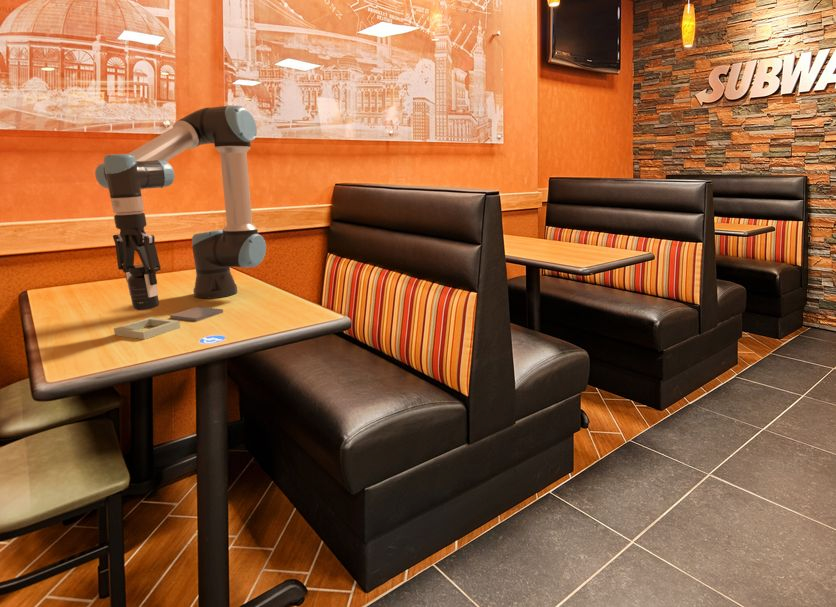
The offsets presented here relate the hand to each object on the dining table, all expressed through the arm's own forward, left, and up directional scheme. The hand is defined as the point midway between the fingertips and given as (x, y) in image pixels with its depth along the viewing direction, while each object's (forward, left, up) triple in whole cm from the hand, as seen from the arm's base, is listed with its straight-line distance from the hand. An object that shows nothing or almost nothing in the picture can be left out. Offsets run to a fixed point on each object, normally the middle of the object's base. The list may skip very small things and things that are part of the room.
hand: (144, 295), depth 153 cm
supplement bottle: (0, 0, -4) cm, 4 cm away
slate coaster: (0, +17, -11) cm, 20 cm away
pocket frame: (0, -1, -11) cm, 11 cm away
